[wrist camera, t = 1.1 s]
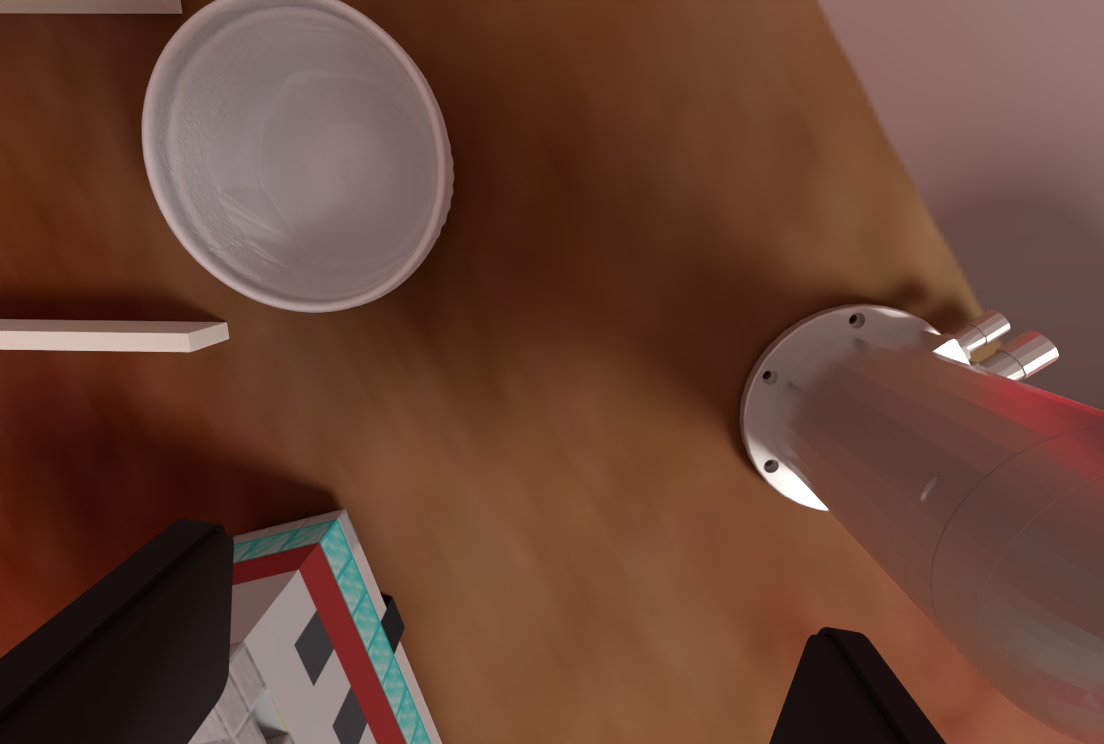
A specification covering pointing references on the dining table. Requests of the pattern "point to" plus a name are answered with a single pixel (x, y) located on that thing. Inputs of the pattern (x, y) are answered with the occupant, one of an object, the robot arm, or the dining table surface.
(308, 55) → the ramekin
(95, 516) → the dining table surface
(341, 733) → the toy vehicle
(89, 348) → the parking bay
